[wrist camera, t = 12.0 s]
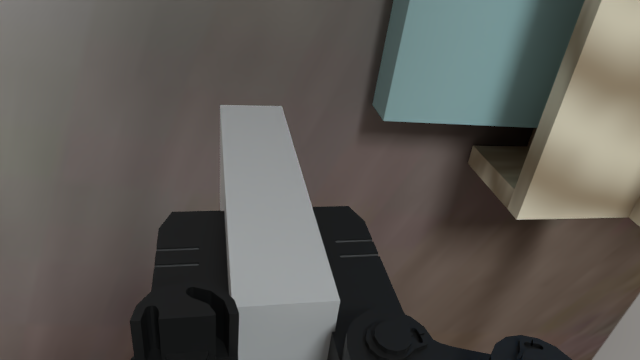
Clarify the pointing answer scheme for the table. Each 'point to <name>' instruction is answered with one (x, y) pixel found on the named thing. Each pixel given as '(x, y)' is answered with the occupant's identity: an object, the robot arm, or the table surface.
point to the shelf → (580, 128)
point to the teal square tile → (473, 60)
